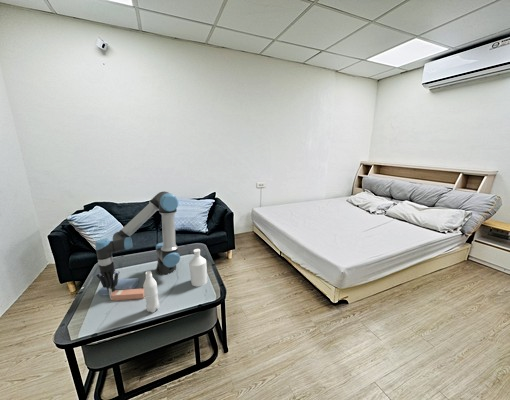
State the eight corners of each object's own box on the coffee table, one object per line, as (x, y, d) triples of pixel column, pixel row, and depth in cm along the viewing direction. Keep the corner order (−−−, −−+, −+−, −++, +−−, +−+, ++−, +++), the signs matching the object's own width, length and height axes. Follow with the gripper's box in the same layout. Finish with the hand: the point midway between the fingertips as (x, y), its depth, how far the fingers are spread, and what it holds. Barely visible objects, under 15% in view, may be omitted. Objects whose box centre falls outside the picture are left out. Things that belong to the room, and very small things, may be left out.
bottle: (200, 275, 165) (197, 245, 159) (211, 280, 158) (208, 249, 153) (187, 283, 155) (184, 251, 150) (198, 288, 149) (195, 255, 143)
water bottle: (149, 305, 133) (144, 269, 127) (161, 305, 133) (156, 268, 128) (144, 314, 126) (139, 276, 120) (157, 313, 126) (152, 275, 121)
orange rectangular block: (147, 292, 145) (146, 288, 144) (143, 298, 140) (143, 293, 139) (116, 295, 143) (115, 290, 142) (111, 300, 138) (110, 295, 137)
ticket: (138, 282, 157) (138, 277, 156) (131, 293, 145) (130, 288, 144) (109, 284, 155) (109, 279, 154) (99, 295, 144) (98, 290, 143)
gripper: (120, 259, 139) (125, 291, 144) (99, 260, 138) (105, 293, 143) (113, 265, 132) (119, 299, 137) (91, 267, 131) (98, 300, 136)
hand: (112, 296), depth 140 cm, fingers closed
